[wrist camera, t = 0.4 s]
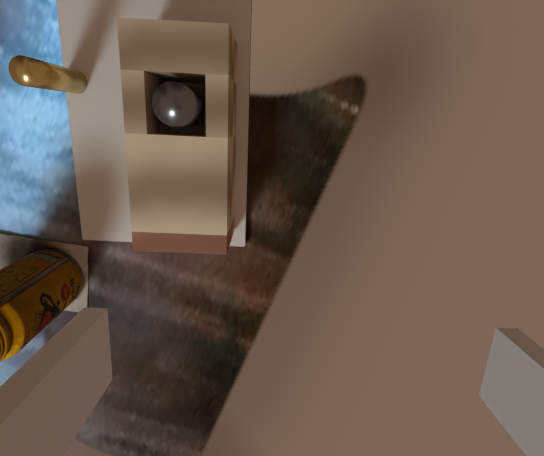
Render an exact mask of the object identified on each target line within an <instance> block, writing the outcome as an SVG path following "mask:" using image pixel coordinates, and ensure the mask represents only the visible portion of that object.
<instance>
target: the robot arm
mask: <svg viewBox="0 0 544 456" xmlns="http://www.w3.org/2000/svg"><path fill="white" fill-rule="evenodd" d="M111 381H112V368H111V353H110V339H109V324H108V310H107V309H104V308H83V309H82V310H81V311H80V312H79V313H78V314H77V315H76V316H75V317H74V318H73V319H72V320H70V321H69V322H68V323H67V324H66V325H65V326H64V327H63V328H62V329H61V330H60V331H59V332H58V333H57V334H56V335H55V336H54V337H53V338H51V339H50V340H49V341H48V342H47V343H46V344H45V345H44V346H43V347H42V348H41V349H40V350H39V351H38V352H37V353H36V354H35V355H33V356H32V357H31V358H30V359H29V360H28V361H27V362H26V363H25V364H24V365H23V366H22V367H21V368H20V369H19V370H18V371H17V372H16V373H14V374H13V375H12V376H11V377H10V378H9V379H8V380H7V381H6V382H5V383H4V384H3V385H2V386H1V387H0V456H64V454H65V453H66V451H67V450H68V448H69V447H70V445H71V444H72V442H73V440H74V439H75V437H76V436H77V434H78V433H79V431H80V429H81V428H82V426H83V425H84V423H85V422H86V420H87V418H88V417H89V415H90V414H91V412H92V411H93V409H94V407H95V406H96V404H97V403H98V401H99V400H100V398H101V396H102V395H103V393H104V392H105V390H106V389H107V387H108V385H109V384H110V382H111ZM479 396H480V398H481V399H482V400H483V401H484V403H485V404H486V405H487V406H488V407H489V409H490V410H491V411H492V413H493V414H494V415H495V416H496V418H497V419H498V420H499V421H500V423H501V424H502V425H503V426H504V428H505V429H506V430H507V432H508V433H509V434H510V435H511V437H512V438H513V439H514V440H515V442H516V443H517V444H518V445H519V446H520V448H521V449H522V450H523V452H524V453H525V454H526V455H527V456H544V349H543V348H542V347H541V346H539V345H538V344H536V342H534V341H533V340H532V339H530V338H529V337H528V336H527V335H525V334H524V333H523V332H522V331H520V330H519V329H511V328H496V330H495V334H494V338H493V342H492V346H491V350H490V354H489V358H488V362H487V366H486V370H485V374H484V378H483V382H482V386H481V391H480V394H479Z"/></svg>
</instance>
